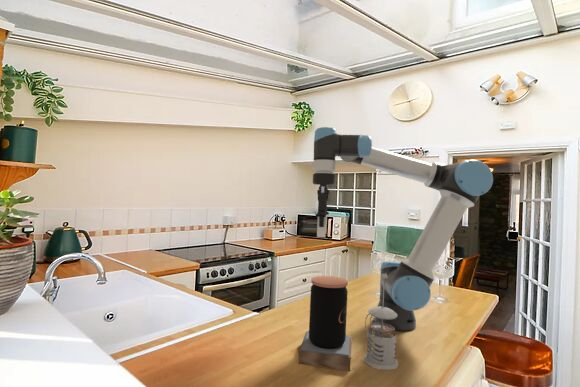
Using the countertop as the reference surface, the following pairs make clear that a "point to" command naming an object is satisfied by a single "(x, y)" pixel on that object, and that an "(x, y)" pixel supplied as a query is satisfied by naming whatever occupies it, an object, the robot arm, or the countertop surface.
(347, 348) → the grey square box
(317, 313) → the coffee jar
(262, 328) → the countertop surface
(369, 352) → the glass coffee plunger
